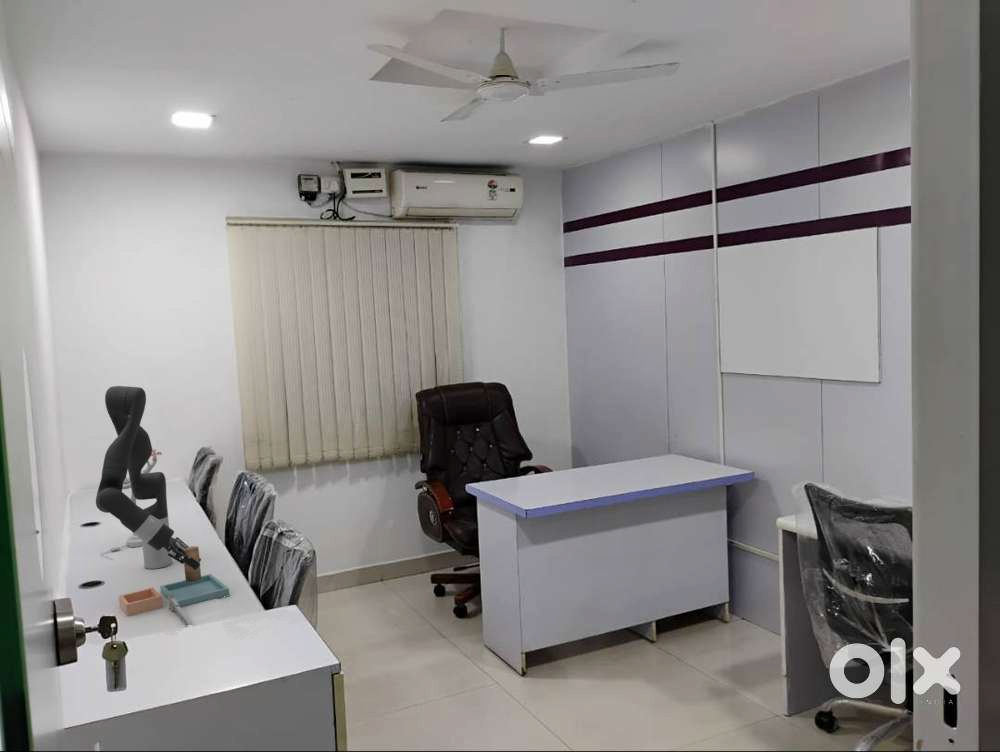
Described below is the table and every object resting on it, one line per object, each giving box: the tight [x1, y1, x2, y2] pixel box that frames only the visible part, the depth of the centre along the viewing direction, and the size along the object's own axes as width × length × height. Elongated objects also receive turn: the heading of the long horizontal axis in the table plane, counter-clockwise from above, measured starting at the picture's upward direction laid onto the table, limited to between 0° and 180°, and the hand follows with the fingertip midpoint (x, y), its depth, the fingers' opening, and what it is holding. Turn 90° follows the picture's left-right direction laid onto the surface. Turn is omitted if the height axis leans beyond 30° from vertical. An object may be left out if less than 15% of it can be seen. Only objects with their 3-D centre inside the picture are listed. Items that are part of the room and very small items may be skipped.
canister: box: [183, 545, 202, 582], centre depth 256 cm, size 5×5×10 cm
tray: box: [159, 573, 230, 608], centre depth 257 cm, size 18×16×2 cm
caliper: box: [167, 592, 194, 626], centre depth 237 cm, size 20×1×6 cm, turn 39°
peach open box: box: [118, 587, 163, 617], centre depth 247 cm, size 10×10×4 cm
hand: (198, 564), depth 256 cm, fingers closed on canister, 4 cm apart
